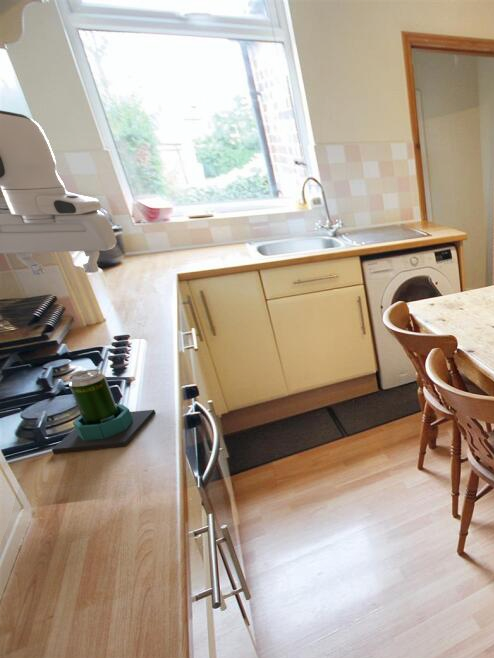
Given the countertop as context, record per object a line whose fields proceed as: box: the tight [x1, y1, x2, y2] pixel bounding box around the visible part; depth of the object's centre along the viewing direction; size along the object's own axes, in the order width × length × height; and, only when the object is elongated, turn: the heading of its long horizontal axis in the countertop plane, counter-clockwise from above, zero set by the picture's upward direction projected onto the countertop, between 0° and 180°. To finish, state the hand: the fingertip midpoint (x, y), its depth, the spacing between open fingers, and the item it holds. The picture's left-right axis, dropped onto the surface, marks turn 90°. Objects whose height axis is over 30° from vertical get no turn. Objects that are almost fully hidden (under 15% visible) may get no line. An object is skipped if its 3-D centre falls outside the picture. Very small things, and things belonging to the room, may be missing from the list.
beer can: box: [67, 368, 120, 425], centre depth 91 cm, size 5×5×12 cm
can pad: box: [51, 403, 156, 455], centre depth 93 cm, size 12×12×4 cm
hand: (65, 272), depth 95 cm, fingers open, 8 cm apart
